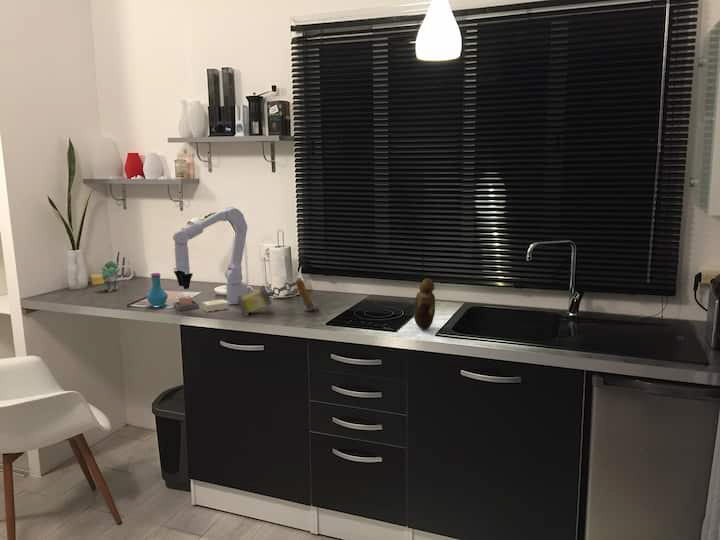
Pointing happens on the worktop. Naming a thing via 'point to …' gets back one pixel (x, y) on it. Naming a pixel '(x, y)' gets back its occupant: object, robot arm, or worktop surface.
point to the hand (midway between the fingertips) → (184, 287)
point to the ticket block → (214, 305)
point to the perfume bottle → (156, 292)
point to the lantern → (262, 298)
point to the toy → (110, 276)
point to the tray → (186, 306)
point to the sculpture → (425, 304)
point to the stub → (185, 300)
